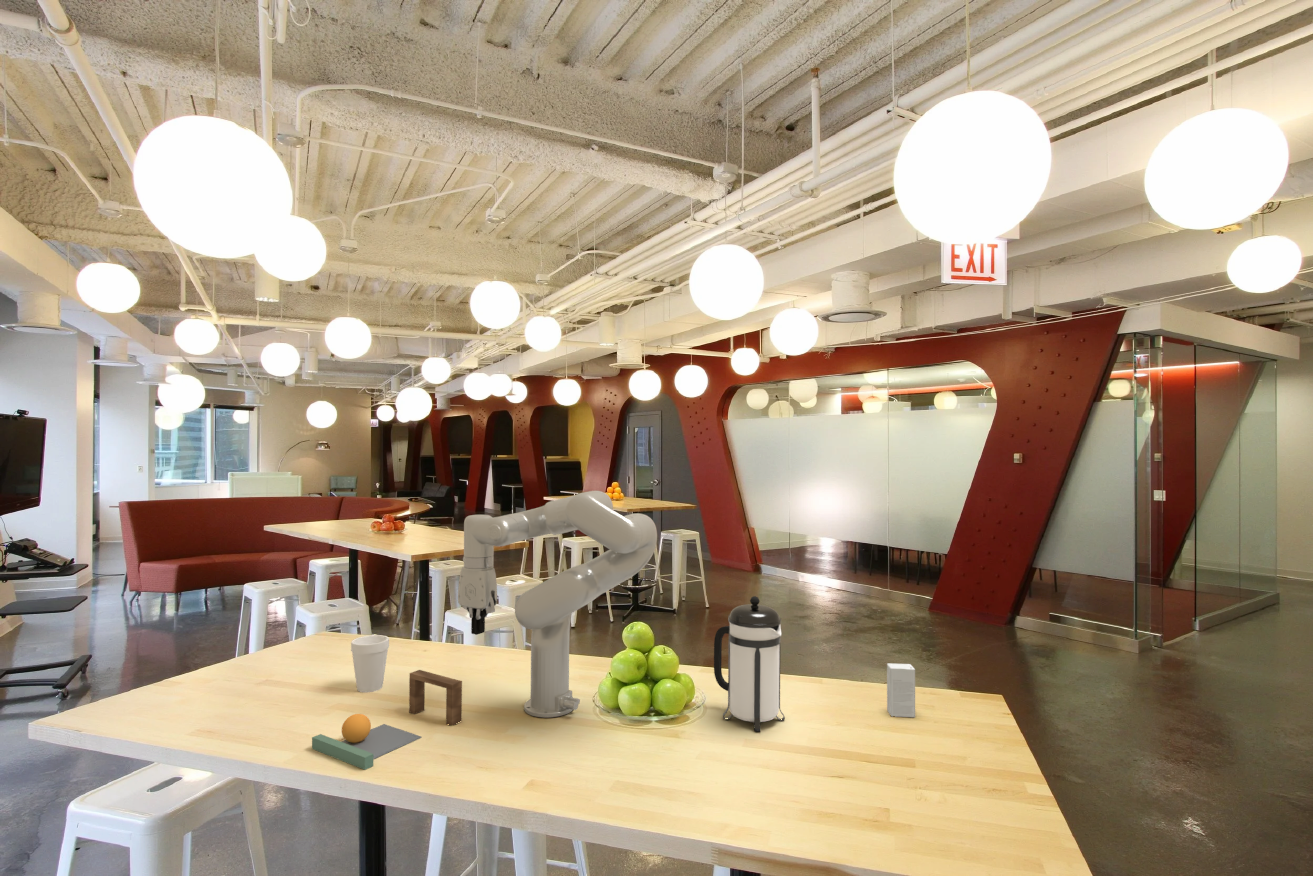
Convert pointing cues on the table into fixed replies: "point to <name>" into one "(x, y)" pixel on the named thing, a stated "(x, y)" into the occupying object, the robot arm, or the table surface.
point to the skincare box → (901, 690)
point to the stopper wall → (342, 751)
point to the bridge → (451, 685)
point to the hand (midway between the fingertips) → (478, 633)
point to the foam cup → (369, 661)
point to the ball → (356, 728)
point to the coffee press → (751, 663)
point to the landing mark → (384, 740)
